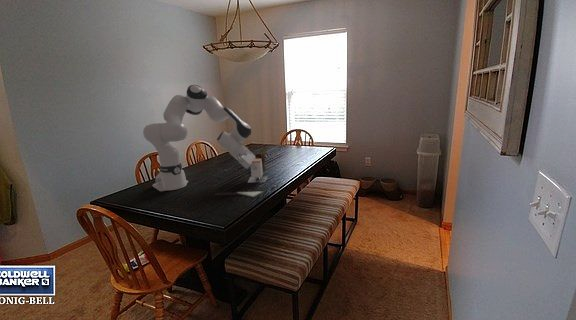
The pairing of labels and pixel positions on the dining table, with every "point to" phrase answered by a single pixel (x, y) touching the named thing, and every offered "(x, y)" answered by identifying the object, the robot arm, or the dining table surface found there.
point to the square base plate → (257, 179)
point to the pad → (250, 193)
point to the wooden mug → (262, 157)
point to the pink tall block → (259, 168)
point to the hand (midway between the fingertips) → (257, 167)
